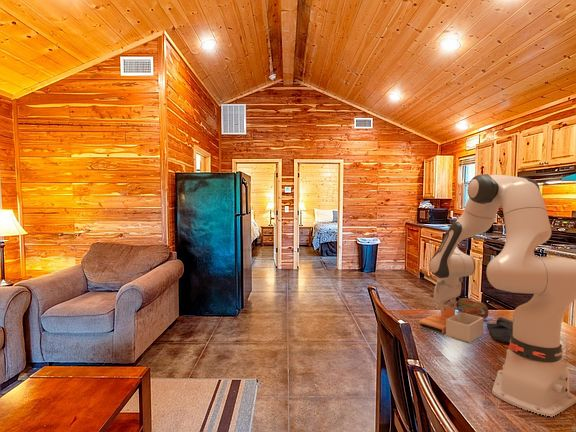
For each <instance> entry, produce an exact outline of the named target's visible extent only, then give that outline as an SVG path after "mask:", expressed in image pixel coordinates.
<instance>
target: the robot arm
mask: <svg viewBox="0 0 576 432" xmlns="http://www.w3.org/2000/svg"><path fill="white" fill-rule="evenodd" d="M540 190H541V189H540V185H539V183H538V182H537V180H535V179H532V178H530V177H525V176H524V177H523V176H522V177H520V176H514V175H507V174H487V173H483V174H478V175H475V176H473V177H472V179H470V181H469V182H468V187H467V195H468V199H467V202H466V204H465V207H464V209H463V212H462V213H461V215H460V216H459V217H458V218H457V220H456V221H454V223H451V225H450V226H449V228H448V229H447V231H446V233H445V235H444V237H443V239H442V240H441V242H440V244H439V246H438V249H437V250H436V252H435V253H434V255H433V256H432V257H431V259H430V261H429V265H428V266H429V270H430V272H431V274H433V275H434V276H435V277H436V282H437V284H435V286H434V289H433V298H432V299H433V302H435V303H438V307H439V311H440V312H441V311H445V307H444V306H445V303H446V302H448V301H449V303H448V304H449V306H448V307H451V308H455V303H456V301H457V298H458V297H460V296H461V293H462V282H463V277H470V276H472V275H473V274H474V273H475V270H476V261H475V260H474V258H473V257H472V256H471V255H470V254H466V253H465V252H463V251H462V250H460V249H459V246H458V245H459V244H460V243H461V242H462V241H464V240H467V239H469V238H471V237H474V236H478V235H482V234H484V233H486V232H487V231H489V229H490V228H491V227H492V225H493V224H494V222H495V220H496V217H497V215H498V211H499V208H500V207H502V212H503V218H504V226H505V227H504V228H505V236H506V237H505V243H504V246H503V248H502V250H501V251H500V252H499V253H498V255H496V256H495V257H493V258H492V259H491V260H490V261H489V262H488V264H487V266H486V270H485V271H486V278H487V281H488V282H489V284H490V285H491V286H492V287H493V288H494V289H496V290H500V291H503V292H506V293H507V292H508V293H513V294H527V295H528V294H529V295H531V294H533V295H532V297H531V298H530V300H528V302H527V301H526V302H525V303H523V304H520V305H518V306H516V308H515V309H514V311H513V313H512V322H513V334H512V335H511V339H510V344H509V345H508V349H506V356H505V360H504V364H502V366H501V368H502V369H498V371H497V373H496V377H495V380H494V383H493V386H492V388H491V389H492V391H491V393H492V394H493V395H494V396H495V397H497V398H499V399H500V400H502V401H504V402H506V403H508V404H510V405H511V406H514V407H516V406H517V408H519V409H521V408H522V410H524V411H527V410H528V411H527V412H529V411H531V412H530V413H532V412H534V413H533V414H535V413H537V414H536V415H539V414H541V415H540V416H542V415H544V416H543V417H547V416H550V417H549V418H554V417H556V416H557V414H558V415H560V412H561V413H563V412H564V411H565V410H567V409H568V408H570V407H572V406H573V405H575V404H576V395H575V394H573V393H571V392H570V371H569V368H568V367H567V365H565V363H564V362H563V360H562V358H563V346H562V344H561V332H562V331H561V330H562V321H563V318H564V315H565V313H566V311H567V310H568V308H570V307H569V306H570V305H572V303H573V302H574V301H576V259H574V258H569V257H564V256H563V257H561V256H536V254H535V248H536V247H539V246H541V245H543V244H545V243H546V242H547V241H549V239H550V238H551V236H552V228H551V223H550V219H549V215H548V211H547V209H548V208H547V207H546V203H545V200H544V197H543V195H542V192H541V191H540ZM545 415H546V416H545ZM555 415H556V416H555ZM553 416H554V417H553Z"/></svg>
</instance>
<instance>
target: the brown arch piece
mask: <svg viewBox="0 0 576 432" xmlns="http://www.w3.org/2000/svg"><path fill="white" fill-rule="evenodd" d="M456 310H457V311H458V313H460V312H462V313H466V314H470V315H474V316H478V317H482V318H484V319H483V320H485V319H488V316H489V307H488V306H487V305H486V304H485V303H483V302H482V301H477V300H473V299H471V298H466V297H465V298H463V297H461V298H458V300H456Z"/></svg>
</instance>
